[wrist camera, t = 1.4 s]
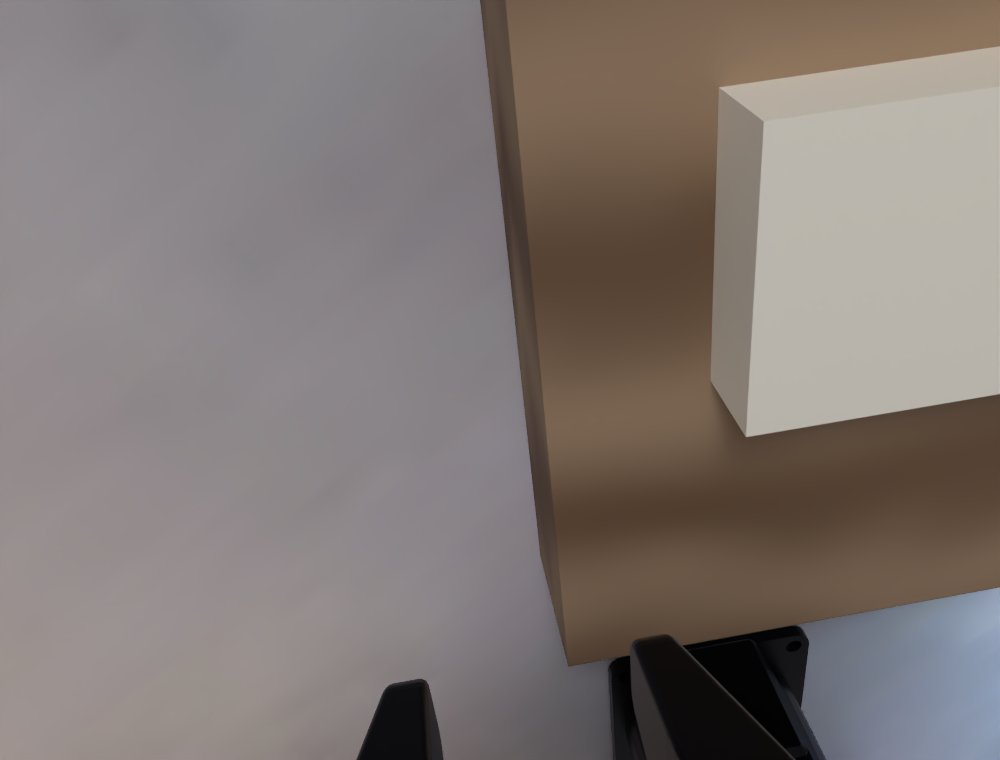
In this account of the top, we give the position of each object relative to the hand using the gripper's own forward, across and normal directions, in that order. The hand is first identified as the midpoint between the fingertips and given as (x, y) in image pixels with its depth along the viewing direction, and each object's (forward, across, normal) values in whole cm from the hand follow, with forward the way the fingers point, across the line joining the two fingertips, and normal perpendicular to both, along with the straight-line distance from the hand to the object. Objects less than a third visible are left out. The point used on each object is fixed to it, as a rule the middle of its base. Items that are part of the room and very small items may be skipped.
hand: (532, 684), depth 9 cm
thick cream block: (+9, -10, 0) cm, 13 cm away
